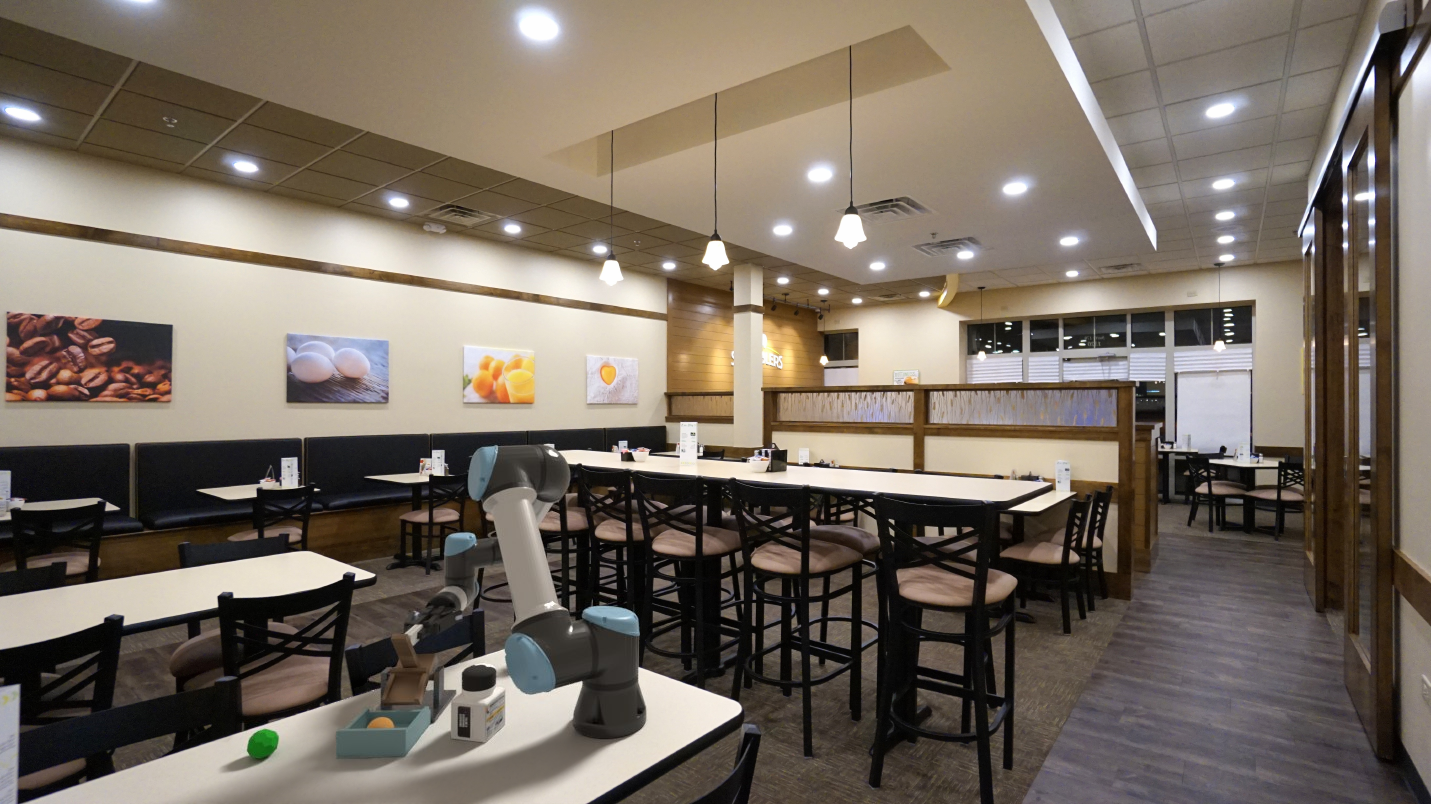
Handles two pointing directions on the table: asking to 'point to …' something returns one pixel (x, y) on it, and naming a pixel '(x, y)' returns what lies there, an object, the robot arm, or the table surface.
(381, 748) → the tray
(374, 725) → the ball
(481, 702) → the container
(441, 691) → the stand
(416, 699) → the brown wooden catapult
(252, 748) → the polyhedron
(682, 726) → the table surface
